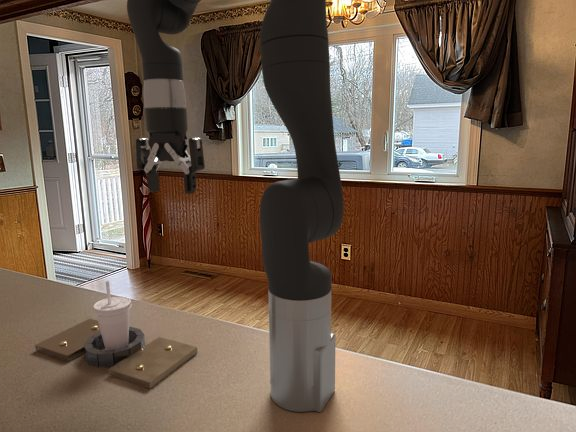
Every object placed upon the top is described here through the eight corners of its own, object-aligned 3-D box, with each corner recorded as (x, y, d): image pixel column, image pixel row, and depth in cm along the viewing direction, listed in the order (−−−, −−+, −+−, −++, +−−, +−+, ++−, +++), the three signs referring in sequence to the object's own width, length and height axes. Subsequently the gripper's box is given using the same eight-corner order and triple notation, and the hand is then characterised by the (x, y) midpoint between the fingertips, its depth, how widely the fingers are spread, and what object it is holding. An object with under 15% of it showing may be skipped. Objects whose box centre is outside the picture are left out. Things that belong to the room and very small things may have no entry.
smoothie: (90, 356, 77) (82, 283, 74) (119, 340, 82) (112, 272, 80) (115, 365, 74) (107, 289, 71) (143, 348, 80) (136, 277, 77)
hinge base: (197, 352, 78) (196, 340, 77) (150, 389, 67) (148, 374, 66) (90, 323, 90) (89, 312, 89) (35, 350, 79) (34, 338, 78)
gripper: (209, 105, 79) (213, 191, 83) (149, 108, 85) (156, 188, 88) (184, 104, 73) (190, 197, 76) (121, 107, 78) (129, 193, 82)
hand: (171, 192), depth 82 cm, fingers open, 8 cm apart
